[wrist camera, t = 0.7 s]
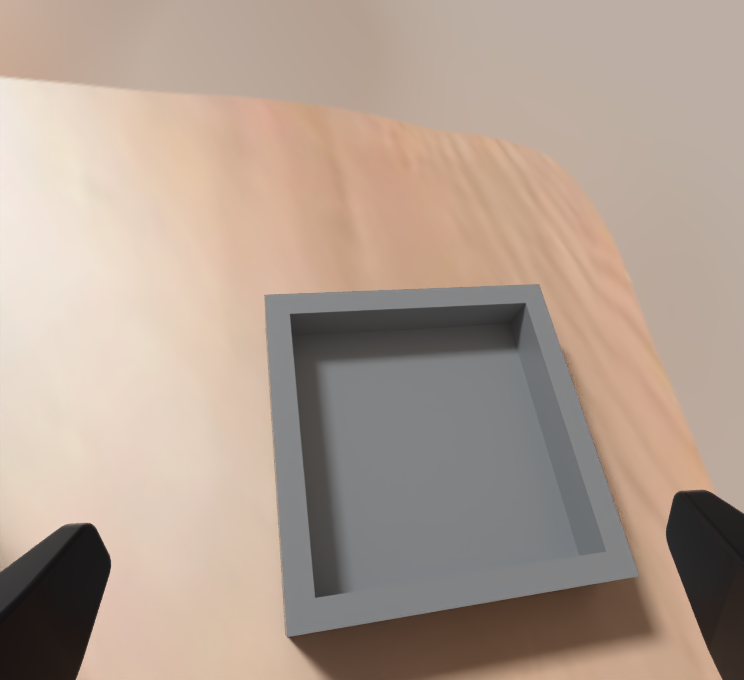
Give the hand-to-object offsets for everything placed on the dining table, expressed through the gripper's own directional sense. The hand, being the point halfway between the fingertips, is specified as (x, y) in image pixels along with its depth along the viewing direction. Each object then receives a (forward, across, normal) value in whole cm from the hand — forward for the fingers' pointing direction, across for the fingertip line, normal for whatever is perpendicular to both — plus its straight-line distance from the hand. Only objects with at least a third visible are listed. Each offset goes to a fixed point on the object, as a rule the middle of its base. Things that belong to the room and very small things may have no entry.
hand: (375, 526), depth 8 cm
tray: (+13, -1, +9) cm, 16 cm away
